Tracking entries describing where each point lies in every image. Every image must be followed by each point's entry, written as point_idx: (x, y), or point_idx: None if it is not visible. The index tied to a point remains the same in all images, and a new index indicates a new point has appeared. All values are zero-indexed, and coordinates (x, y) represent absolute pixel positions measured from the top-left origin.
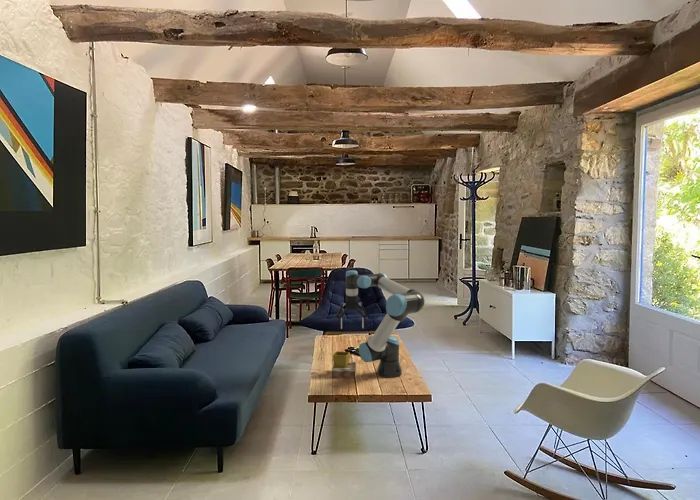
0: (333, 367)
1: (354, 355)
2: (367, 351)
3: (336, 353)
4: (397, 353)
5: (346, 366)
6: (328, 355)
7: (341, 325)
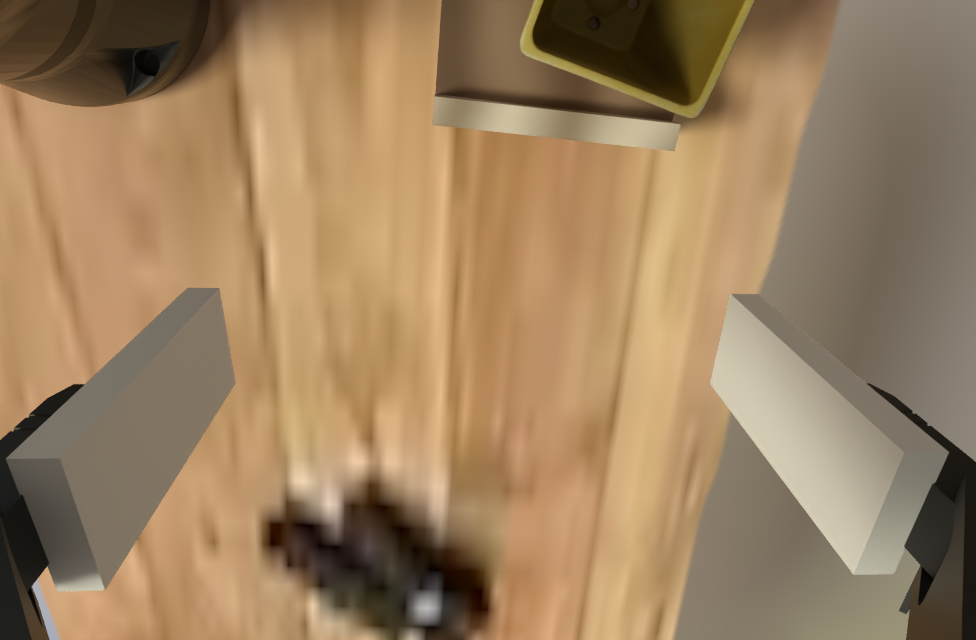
0: None
1: (425, 503)
2: None
3: (697, 82)
4: None
5: None
6: (629, 511)
7: (789, 333)
